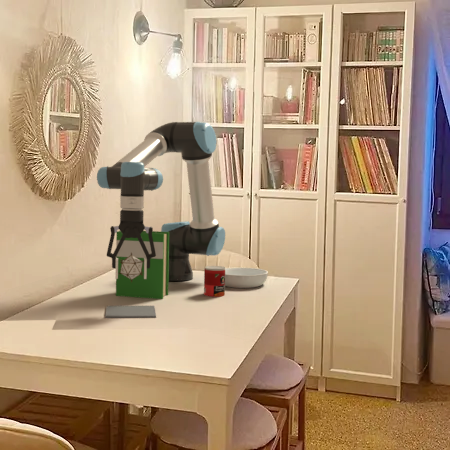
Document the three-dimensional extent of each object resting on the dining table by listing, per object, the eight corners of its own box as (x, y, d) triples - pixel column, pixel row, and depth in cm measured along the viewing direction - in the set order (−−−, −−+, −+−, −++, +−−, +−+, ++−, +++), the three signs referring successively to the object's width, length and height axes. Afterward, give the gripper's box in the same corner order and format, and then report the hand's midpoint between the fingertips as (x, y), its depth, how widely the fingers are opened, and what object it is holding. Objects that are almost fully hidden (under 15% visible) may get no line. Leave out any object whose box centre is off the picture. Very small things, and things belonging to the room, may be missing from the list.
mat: (106, 307, 241) (106, 305, 241) (154, 307, 243) (154, 305, 243) (105, 317, 225) (105, 316, 225) (156, 317, 227) (156, 315, 227)
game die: (139, 285, 228) (139, 254, 227) (114, 284, 229) (114, 253, 229) (148, 280, 237) (148, 250, 236) (123, 279, 238) (123, 250, 237)
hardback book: (168, 296, 263) (169, 231, 261) (162, 300, 256) (163, 233, 253) (122, 293, 266) (123, 229, 264) (115, 297, 259) (116, 231, 257)
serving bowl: (236, 281, 299) (237, 265, 298) (277, 288, 286) (278, 271, 285) (204, 287, 283) (204, 270, 282) (246, 295, 270) (246, 277, 269)
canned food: (216, 299, 259) (217, 269, 258) (199, 296, 264) (200, 267, 263) (229, 296, 265) (229, 267, 264) (212, 293, 270) (212, 265, 269)
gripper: (98, 209, 226) (97, 280, 228) (165, 210, 229) (164, 280, 231) (99, 208, 233) (98, 276, 235) (164, 209, 236) (163, 276, 238)
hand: (130, 278), depth 233 cm, fingers closed on game die, 9 cm apart
